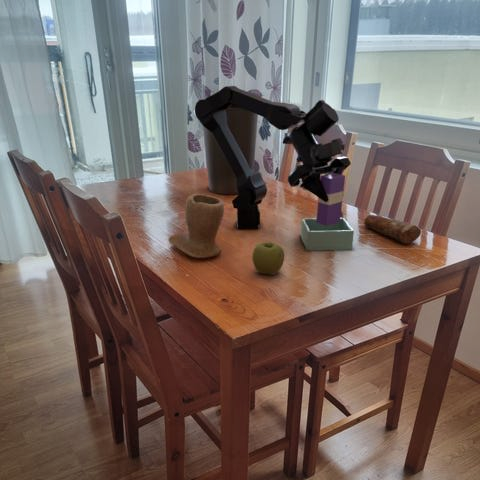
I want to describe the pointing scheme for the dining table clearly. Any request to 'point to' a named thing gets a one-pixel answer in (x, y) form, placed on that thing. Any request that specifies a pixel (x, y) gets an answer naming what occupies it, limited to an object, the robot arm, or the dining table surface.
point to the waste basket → (245, 137)
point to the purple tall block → (331, 199)
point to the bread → (393, 228)
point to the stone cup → (200, 227)
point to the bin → (326, 235)
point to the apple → (268, 257)
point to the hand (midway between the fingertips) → (334, 199)
